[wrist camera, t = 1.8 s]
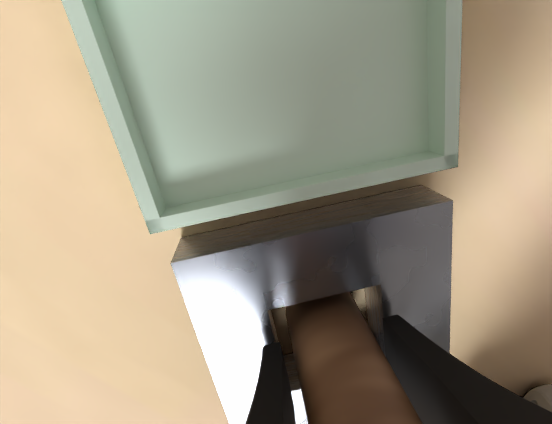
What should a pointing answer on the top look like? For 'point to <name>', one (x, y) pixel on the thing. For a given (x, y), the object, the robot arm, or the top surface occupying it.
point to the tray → (271, 97)
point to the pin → (344, 366)
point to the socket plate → (314, 279)
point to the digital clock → (541, 396)
